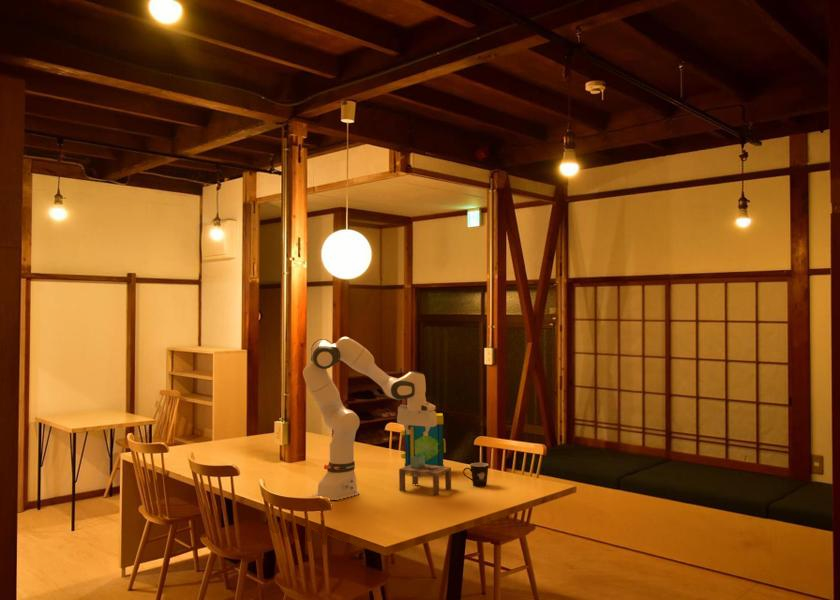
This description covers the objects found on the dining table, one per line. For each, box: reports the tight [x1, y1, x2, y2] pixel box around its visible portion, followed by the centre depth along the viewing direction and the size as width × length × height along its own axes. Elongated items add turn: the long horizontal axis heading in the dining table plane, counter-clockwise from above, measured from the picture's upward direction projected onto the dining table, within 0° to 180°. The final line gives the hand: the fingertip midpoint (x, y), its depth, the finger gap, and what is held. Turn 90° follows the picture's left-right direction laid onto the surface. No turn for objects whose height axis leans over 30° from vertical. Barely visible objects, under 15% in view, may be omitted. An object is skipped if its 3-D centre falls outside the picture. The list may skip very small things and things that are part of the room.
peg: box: [411, 455, 425, 478], centre depth 320 cm, size 6×4×9 cm, turn 150°
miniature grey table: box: [398, 464, 452, 496], centre depth 318 cm, size 20×14×10 cm
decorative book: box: [400, 412, 447, 476], centre depth 353 cm, size 14×23×30 cm, turn 90°
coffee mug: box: [462, 462, 489, 488], centre depth 325 cm, size 12×9×10 cm
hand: (416, 435), depth 321 cm, fingers open, 8 cm apart
